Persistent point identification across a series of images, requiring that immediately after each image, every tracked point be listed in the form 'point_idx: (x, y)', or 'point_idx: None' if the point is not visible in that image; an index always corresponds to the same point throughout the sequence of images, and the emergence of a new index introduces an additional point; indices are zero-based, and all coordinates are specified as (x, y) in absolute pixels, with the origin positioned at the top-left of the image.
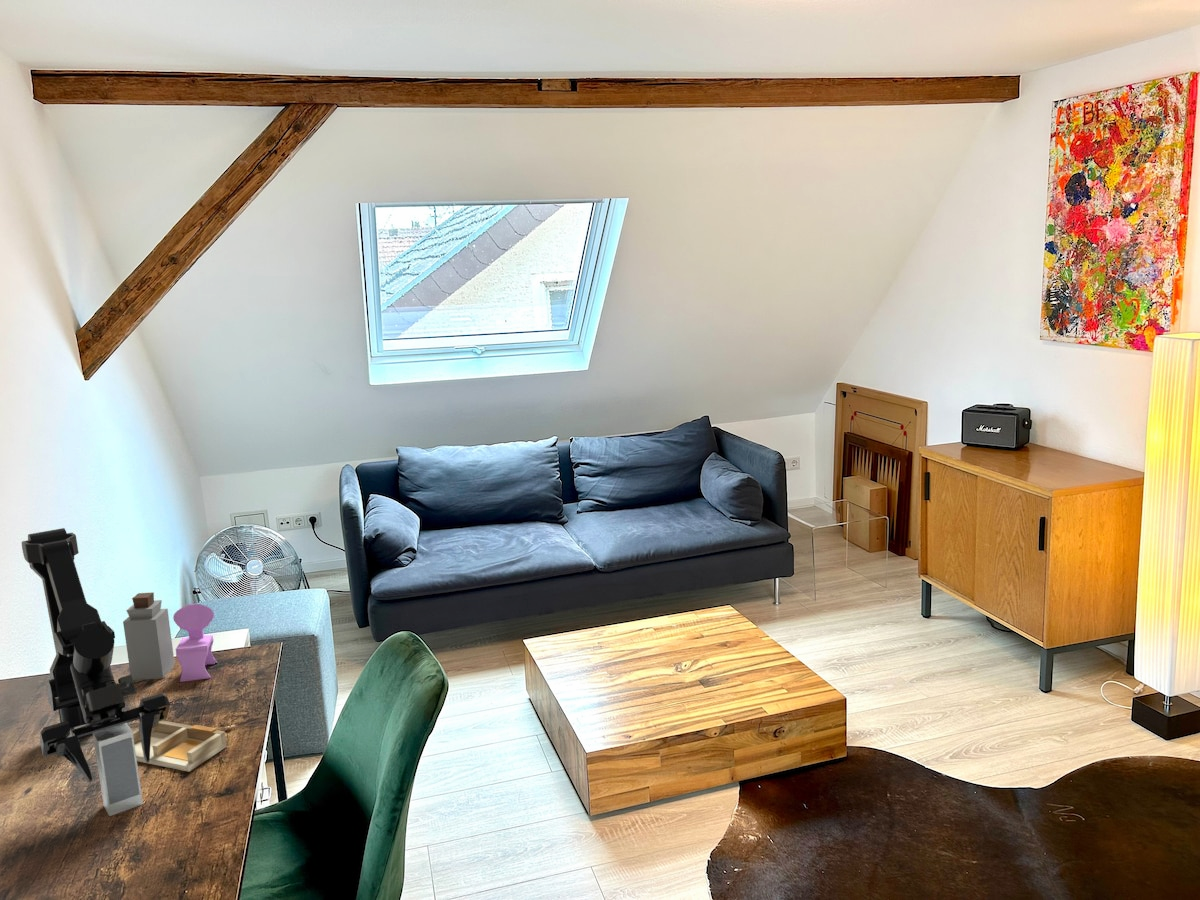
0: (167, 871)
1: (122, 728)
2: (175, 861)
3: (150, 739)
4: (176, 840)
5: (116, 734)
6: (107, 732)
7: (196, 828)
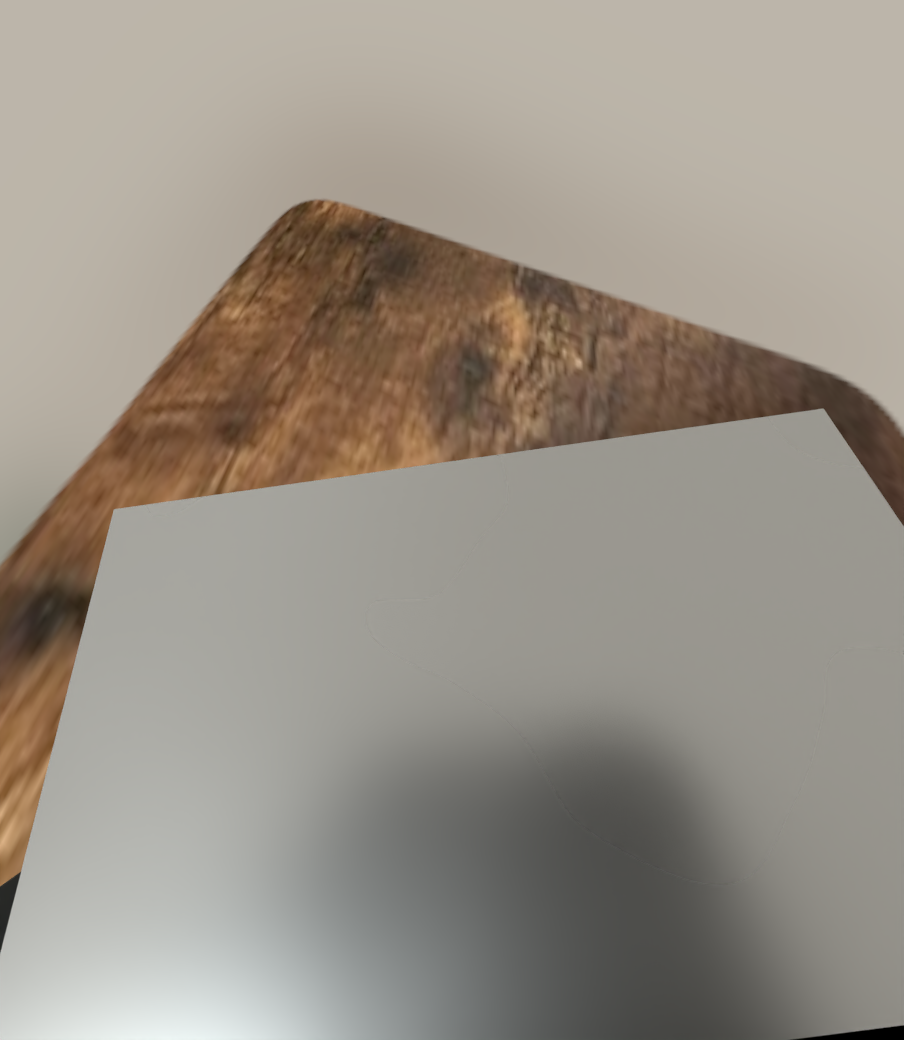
0: (404, 282)
1: (224, 873)
2: (376, 307)
3: (3, 887)
4: (345, 392)
5: (442, 537)
6: (693, 856)
7: (269, 423)
